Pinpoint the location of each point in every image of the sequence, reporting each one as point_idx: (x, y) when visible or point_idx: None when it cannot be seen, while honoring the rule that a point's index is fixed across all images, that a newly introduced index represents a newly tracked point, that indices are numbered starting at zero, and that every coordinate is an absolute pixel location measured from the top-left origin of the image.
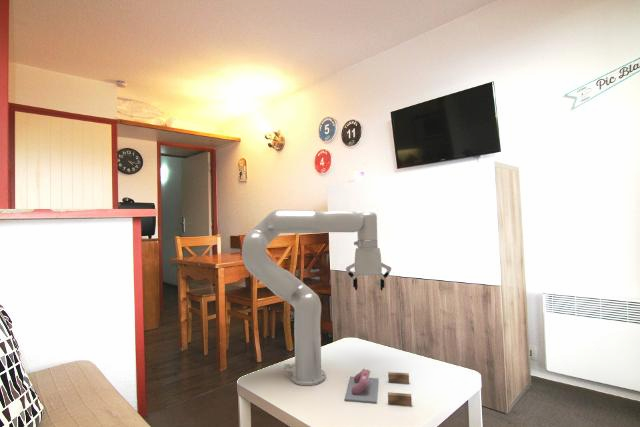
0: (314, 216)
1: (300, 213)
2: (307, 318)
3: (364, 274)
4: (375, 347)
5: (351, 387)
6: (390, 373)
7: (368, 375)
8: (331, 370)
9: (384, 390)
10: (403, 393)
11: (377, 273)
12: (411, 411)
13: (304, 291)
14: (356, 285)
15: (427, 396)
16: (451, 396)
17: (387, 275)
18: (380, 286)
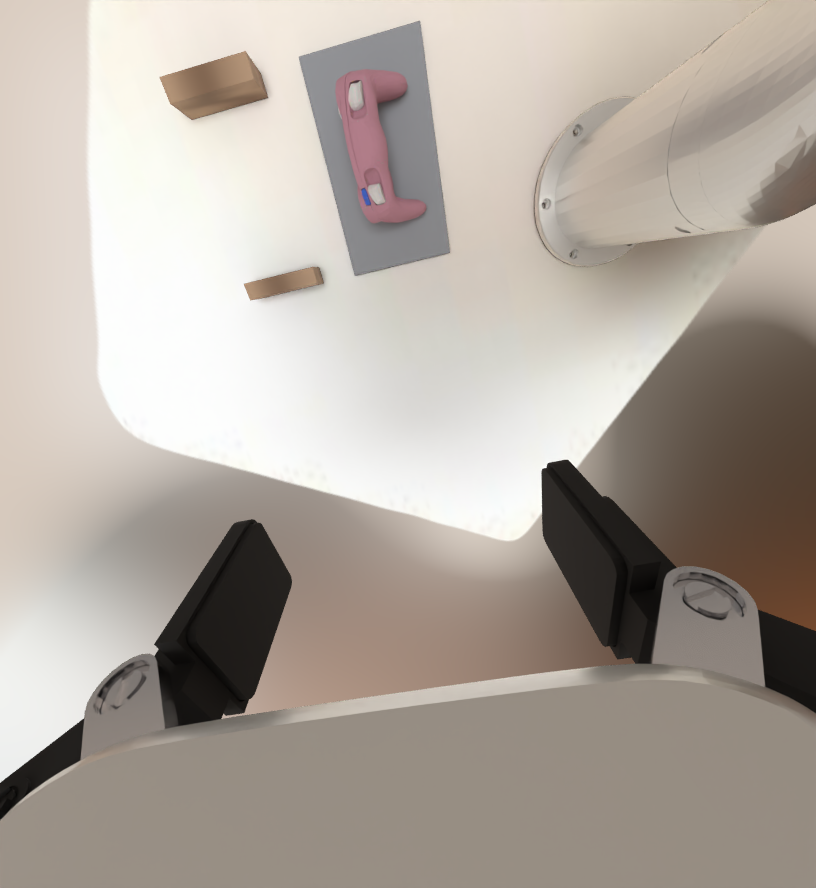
0: None
1: None
2: None
3: (473, 691)
4: (430, 503)
5: (421, 153)
6: (306, 275)
7: (343, 118)
8: (526, 291)
9: (311, 198)
10: (196, 94)
11: (79, 785)
12: (167, 50)
13: None
14: (570, 499)
15: (170, 210)
16: (108, 242)
17: (25, 770)
18: (240, 553)
